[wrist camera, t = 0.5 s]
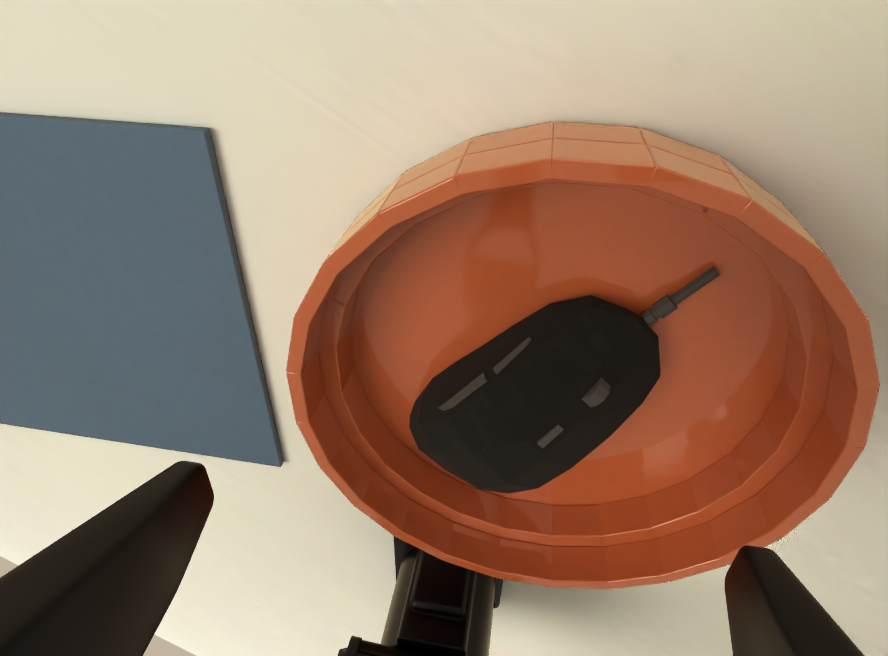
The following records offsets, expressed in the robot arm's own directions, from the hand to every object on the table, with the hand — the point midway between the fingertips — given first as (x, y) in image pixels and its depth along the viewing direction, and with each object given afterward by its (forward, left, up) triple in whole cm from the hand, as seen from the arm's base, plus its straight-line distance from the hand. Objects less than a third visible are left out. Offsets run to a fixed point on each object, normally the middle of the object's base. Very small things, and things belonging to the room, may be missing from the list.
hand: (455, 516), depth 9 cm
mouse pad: (-7, +22, -13) cm, 26 cm away
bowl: (-7, -2, -13) cm, 15 cm away
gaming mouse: (-7, -2, -13) cm, 15 cm away
